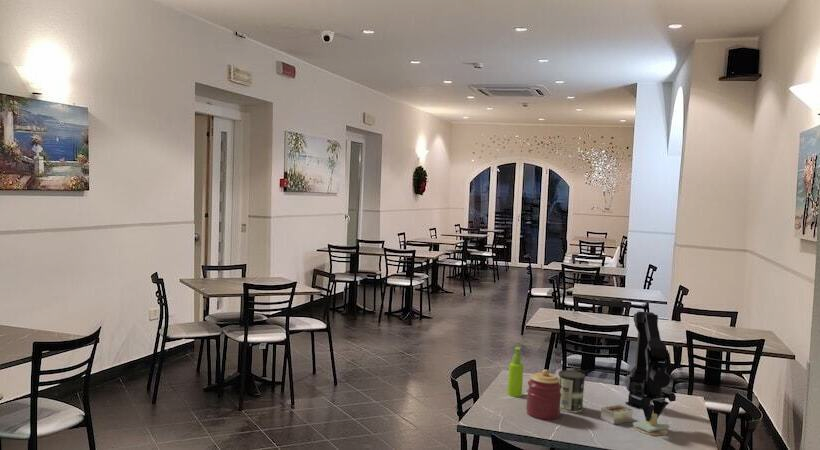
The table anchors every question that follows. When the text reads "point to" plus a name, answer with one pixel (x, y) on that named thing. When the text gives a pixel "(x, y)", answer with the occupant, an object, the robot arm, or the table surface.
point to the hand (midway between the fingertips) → (651, 420)
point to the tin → (616, 414)
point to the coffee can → (571, 391)
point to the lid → (651, 424)
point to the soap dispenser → (515, 375)
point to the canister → (544, 395)
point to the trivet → (656, 433)
